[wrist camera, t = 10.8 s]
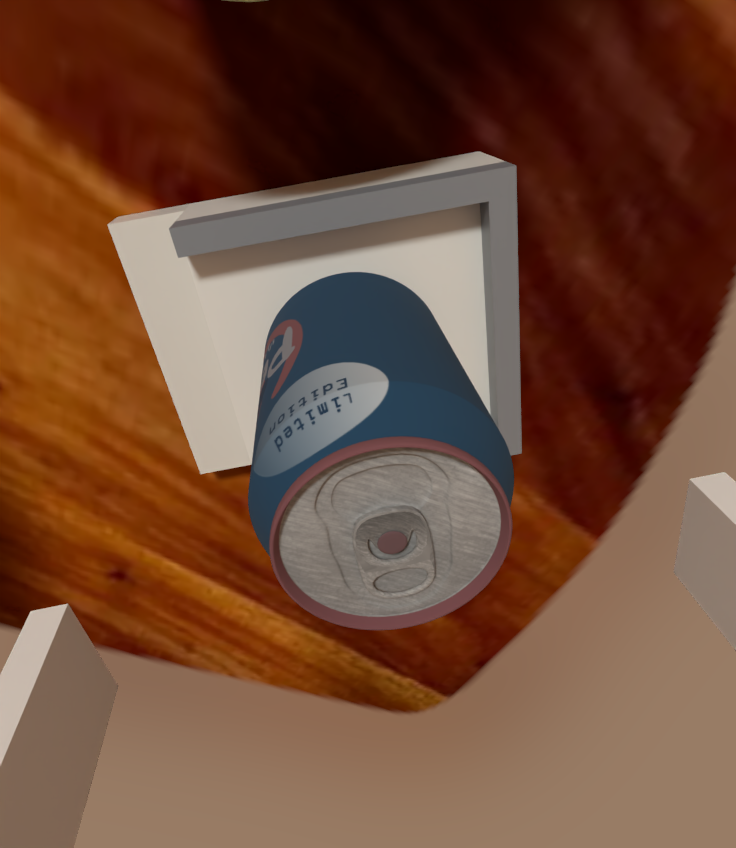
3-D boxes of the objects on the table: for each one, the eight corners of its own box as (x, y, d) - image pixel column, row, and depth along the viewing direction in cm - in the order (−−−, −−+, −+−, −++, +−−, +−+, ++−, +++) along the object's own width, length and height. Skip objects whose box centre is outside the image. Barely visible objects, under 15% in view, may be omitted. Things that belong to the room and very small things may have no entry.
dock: (204, 457, 30) (190, 515, 26) (117, 216, 24) (80, 244, 20) (491, 403, 30) (521, 453, 26) (479, 151, 24) (516, 165, 20)
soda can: (244, 283, 22) (198, 459, 12) (423, 244, 22) (534, 387, 12) (290, 434, 26) (285, 670, 15) (444, 401, 26) (542, 616, 15)
